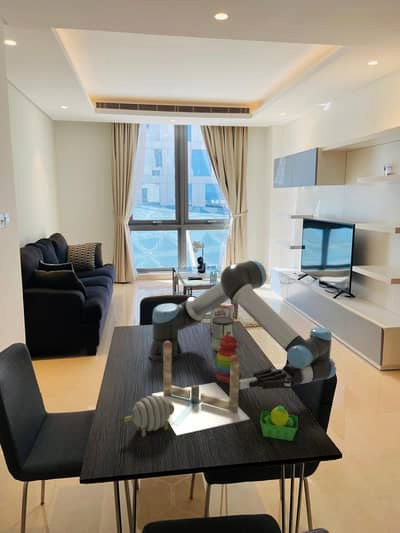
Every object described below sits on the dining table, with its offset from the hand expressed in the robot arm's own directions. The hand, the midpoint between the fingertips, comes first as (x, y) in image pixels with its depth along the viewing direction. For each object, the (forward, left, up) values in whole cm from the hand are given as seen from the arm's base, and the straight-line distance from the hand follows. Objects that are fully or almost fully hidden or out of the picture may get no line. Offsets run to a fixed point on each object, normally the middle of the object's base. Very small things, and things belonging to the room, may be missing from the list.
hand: (239, 384), depth 140 cm
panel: (-5, -5, -9) cm, 12 cm away
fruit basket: (+16, +6, -11) cm, 20 cm away
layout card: (-9, -11, -10) cm, 18 cm away
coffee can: (-56, +21, -11) cm, 61 cm away
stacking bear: (-26, +9, -11) cm, 29 cm away
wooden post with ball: (-16, -15, -10) cm, 25 cm away
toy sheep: (-1, -31, -11) cm, 33 cm away
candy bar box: (-74, +29, -11) cm, 80 cm away
